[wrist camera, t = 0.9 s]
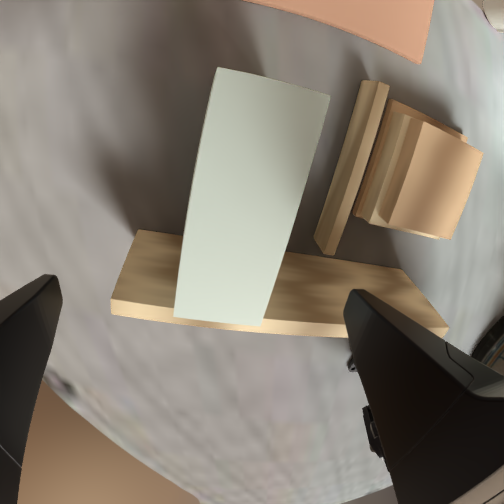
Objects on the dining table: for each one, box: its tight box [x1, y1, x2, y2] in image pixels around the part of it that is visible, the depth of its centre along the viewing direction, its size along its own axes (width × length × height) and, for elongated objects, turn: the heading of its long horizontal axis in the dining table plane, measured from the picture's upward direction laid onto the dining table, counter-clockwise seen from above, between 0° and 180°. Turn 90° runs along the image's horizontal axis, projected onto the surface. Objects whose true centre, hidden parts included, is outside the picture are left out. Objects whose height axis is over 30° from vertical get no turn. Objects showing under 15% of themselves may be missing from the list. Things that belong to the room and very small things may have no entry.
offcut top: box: [379, 118, 483, 240], centre depth 20 cm, size 6×7×2 cm
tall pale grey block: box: [173, 67, 331, 326], centre depth 15 cm, size 4×9×11 cm, turn 167°
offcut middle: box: [360, 112, 440, 240], centre depth 21 cm, size 7×8×2 cm
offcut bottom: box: [352, 99, 468, 218], centre depth 22 cm, size 8×9×2 cm
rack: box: [111, 80, 449, 338], centre depth 18 cm, size 22×14×8 cm, turn 77°
